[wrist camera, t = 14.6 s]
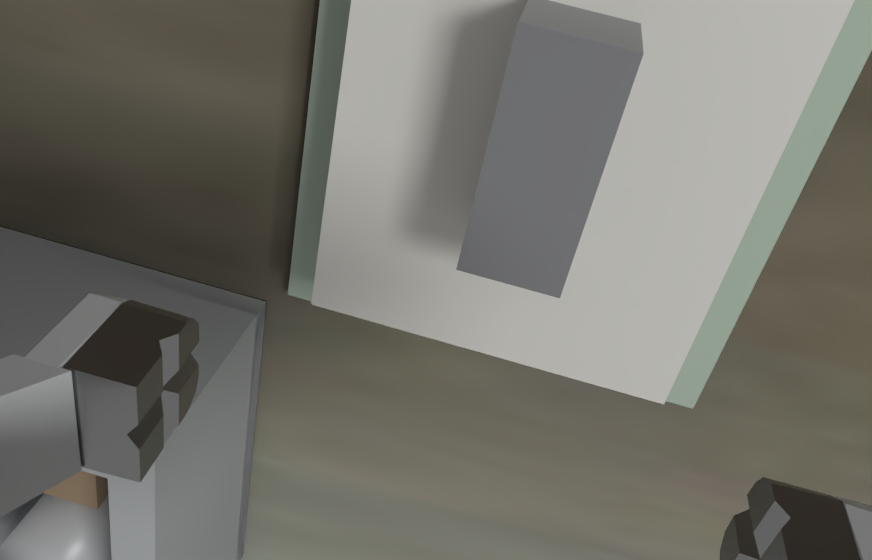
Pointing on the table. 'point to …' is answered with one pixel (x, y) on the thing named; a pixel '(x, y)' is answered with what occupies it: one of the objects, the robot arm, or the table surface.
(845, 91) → the mat
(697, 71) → the lid
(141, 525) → the storage box
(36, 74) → the table surface
